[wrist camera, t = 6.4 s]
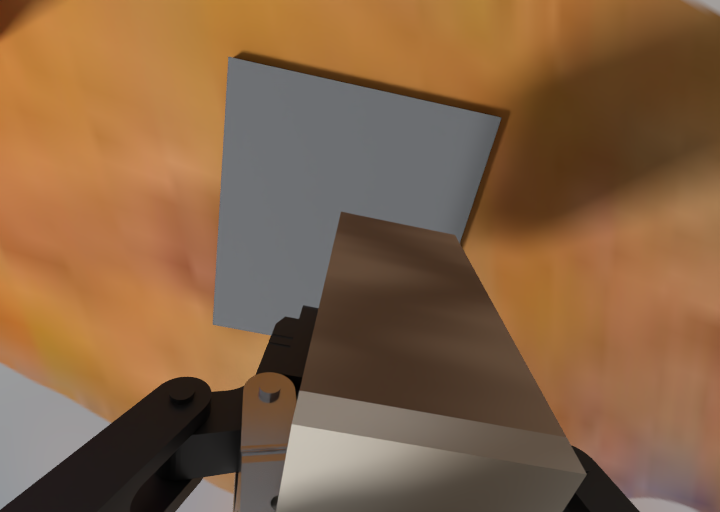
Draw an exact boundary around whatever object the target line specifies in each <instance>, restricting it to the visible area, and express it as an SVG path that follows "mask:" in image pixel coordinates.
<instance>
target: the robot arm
mask: <svg viewBox="0 0 720 512" xmlns="http://www.w3.org/2000/svg"><path fill="white" fill-rule="evenodd" d="M318 309H319V308H316V307H310V306H305V305H303V307H302V310H301V314H300V317H299V319H296V318H291V317H286V316H285V317H284V318H283V319H281V320H280V321H279V322H277V323H276V325H275V327H274V330H273V332H272V336H271V337H270V340H269V343H268V345H267V347H266V350H265V352H264V355H263V358H262V360H261V363H260V365H259V368H258V370H257V373H256V375H255V376H253V377H251V378H250V379H249V380H248V381H247V382H246V383H245V385H244V386H243V387H240V388H238V389H234V390H229V391H217V392H211V389H210V387H209V385H208V384H207V383H206V382H204V381H203V380H201V379H198V378H194V377H179V378H175V379H172V380H169V381H167V382H165V383H163V384H162V385H160V386H159V387H158V388H156V389H155V390H154V391H153V392H151V393H150V394H149V395H147V396H146V397H145V398H144V399H142V400H141V401H140V402H138V403H137V404H136V405H135V406H133V407H132V408H131V409H129V410H128V411H127V412H126V413H124V414H123V415H122V416H120V417H119V418H118V419H117V420H115V421H114V422H113V423H111V424H110V425H109V426H108V427H106V428H105V429H104V430H102V431H101V432H100V433H99V434H97V435H96V436H95V437H93V438H92V439H91V440H90V441H88V442H87V443H86V444H84V445H83V446H82V447H81V448H79V449H78V450H77V451H75V452H74V453H73V454H72V455H70V456H69V457H68V458H66V459H65V460H64V461H63V462H61V463H60V464H59V465H57V466H56V467H55V468H53V469H52V470H51V471H50V472H48V473H47V474H46V475H45V476H43V477H42V478H41V479H39V480H38V481H37V482H35V483H34V484H33V485H32V486H31V487H29V488H28V489H27V490H25V491H24V492H23V493H22V494H20V495H19V496H17V497H16V498H15V499H14V500H12V501H11V502H10V503H8V504H7V505H6V506H5V507H3V508H2V509H1V510H0V512H175V511H176V510H177V509H178V508H179V506H180V505H181V504H182V503H183V502H184V500H185V499H186V498H187V497H188V496H189V495H190V493H191V492H192V491H193V490H194V489H195V488H196V486H197V485H198V484H199V483H200V482H201V480H202V479H203V477H207V476H214V475H220V474H227V473H234V472H235V481H234V500H233V512H276V508H277V502H278V497H279V491H280V486H281V480H282V475H283V469H284V464H285V458H286V453H287V447H288V442H289V436H290V431H291V425H292V421H293V416H294V412H295V408H296V403H297V399H298V395H299V391H300V386H301V382H302V378H303V373H304V369H305V365H306V360H307V356H308V352H309V347H310V343H311V339H312V335H313V330H314V326H315V322H316V317H317V313H318ZM571 447H572V448H573V450H574V452H575V454H576V456H577V457H578V459H579V461H580V463H581V465H582V467H583V468H584V470H585V472H586V474H587V475H586V477H585V478H584V480H583V481H582V483H581V484H580V486H579V487H578V489H577V490H576V492H575V493H574V495H573V497H572V498H571V500H570V501H569V503H568V504H567V506H566V507H565V509H564V510H563V512H639V510H638V509H637V508H636V507H635V506H634V505H633V504H632V503H631V501H630V500H629V499H628V498H627V497H626V496H625V495H624V494H623V493H622V491H621V490H620V489H619V488H618V487H617V486H616V485H615V484H614V482H613V481H612V480H611V479H610V478H609V477H608V476H607V475H606V474H605V472H604V471H603V470H602V469H601V468H600V467H599V466H598V465H597V463H596V462H595V461H594V460H593V459H592V458H591V457H589V456H588V455H587V454H586V453H584V452H583V451H581V450H580V449H578V448H576V447H574V446H571Z"/></svg>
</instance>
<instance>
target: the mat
mask: <svg viewBox="0 0 720 512" xmlns="http://www.w3.org/2000/svg"><path fill="white" fill-rule="evenodd" d="M500 121H501V117H497V116H492V115H488V114H483V113H479V112H475V111H470V110H466V109H461V108H457V107H452V106H448V105H443V104H439V103H434V102H430V101H425V100H421V99H416V98H412V97H407V96H403V95H398V94H394V93H389V92H385V91H380V90H376V89H371V88H367V87H362V86H358V85H353V84H349V83H344V82H340V81H335V80H331V79H326V78H322V77H317V76H313V75H308V74H304V73H299V72H295V71H291V70H286V69H282V68H277V67H273V66H268V65H264V64H259V63H255V62H250V61H246V60H241V59H237V58H232V57H228V74H227V91H226V108H225V125H224V142H223V159H222V176H221V193H220V210H219V227H218V244H217V261H216V278H215V295H214V312H213V325H218V326H223V327H229V328H234V329H239V330H245V331H250V332H256V333H261V334H266V335H272V332H273V330H274V327H275V325H276V323H277V322H279V321H280V320H281V319H283V318H284V317H285V316H286V317H291V318H296V319H299V317H300V314H301V310H302V307H303V305H305V306H310V307H316V308H319V304H320V300H321V296H322V291H323V287H324V283H325V279H326V274H327V270H328V266H329V261H330V257H331V253H332V248H333V244H334V240H335V235H336V231H337V227H338V223H339V218H340V214H341V212H345V213H350V214H355V215H360V216H365V217H370V218H375V219H380V220H384V221H389V222H394V223H399V224H404V225H409V226H414V227H419V228H424V229H428V230H433V231H438V232H443V233H448V234H453V235H455V236H456V238H457V240H458V241H459V243H460V241H461V238H462V235H463V232H464V229H465V226H466V223H467V220H468V217H469V214H470V211H471V208H472V205H473V202H474V199H475V196H476V193H477V190H478V187H479V184H480V181H481V178H482V175H483V172H484V169H485V166H486V163H487V160H488V157H489V154H490V151H491V148H492V145H493V142H494V139H495V136H496V133H497V130H498V127H499V124H500Z"/></svg>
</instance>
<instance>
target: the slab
mask: <svg viewBox="0 0 720 512" xmlns="http://www.w3.org/2000/svg"><path fill="white" fill-rule="evenodd" d="M586 475H587V474H586V472H585V470H584V468H583V467H582V465H581V463H580V461H579V459H578V457H577V456H576V454H575V452H574V450H573V448H572V447H571V445H570V443H569V441H568V439H567V437H566V436H565V434H564V432H563V430H562V428H561V427H560V425H559V423H558V421H557V419H556V418H555V416H554V414H553V412H552V410H551V408H550V407H549V405H548V403H547V401H546V399H545V398H544V396H543V394H542V392H541V390H540V388H539V387H538V385H537V383H536V381H535V379H534V378H533V376H532V374H531V372H530V370H529V368H528V367H527V365H526V363H525V361H524V359H523V358H522V356H521V354H520V352H519V350H518V349H517V347H516V345H515V343H514V341H513V339H512V338H511V336H510V334H509V332H508V330H507V329H506V327H505V325H504V323H503V321H502V319H501V318H500V316H499V314H498V312H497V310H496V309H495V307H494V305H493V303H492V301H491V299H490V298H489V296H488V294H487V292H486V290H485V289H484V287H483V285H482V283H481V281H480V280H479V278H478V276H477V274H476V272H475V270H474V269H473V267H472V265H471V263H470V261H469V260H468V258H467V256H466V254H465V252H464V250H463V249H462V247H461V245H460V243H459V241H458V240H457V238H456V236H455V235H453V234H448V233H443V232H438V231H433V230H428V229H424V228H419V227H414V226H409V225H404V224H399V223H394V222H389V221H384V220H380V219H375V218H370V217H365V216H360V215H355V214H350V213H345V212H341V214H340V218H339V223H338V227H337V231H336V235H335V240H334V244H333V248H332V253H331V257H330V261H329V266H328V270H327V274H326V279H325V283H324V287H323V291H322V296H321V300H320V304H319V309H318V313H317V317H316V322H315V326H314V330H313V335H312V339H311V343H310V347H309V352H308V356H307V360H306V365H305V369H304V373H303V378H302V382H301V386H300V391H299V395H298V399H297V403H296V408H295V412H294V416H293V421H292V425H291V431H290V436H289V442H288V447H287V453H286V458H285V464H284V469H283V475H282V480H281V486H280V491H279V497H278V502H277V508H276V512H563V510H564V509H565V507H566V506H567V504H568V503H569V501H570V500H571V498H572V497H573V495H574V493H575V492H576V490H577V489H578V487H579V486H580V484H581V483H582V481H583V480H584V478H585V477H586Z"/></svg>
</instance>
